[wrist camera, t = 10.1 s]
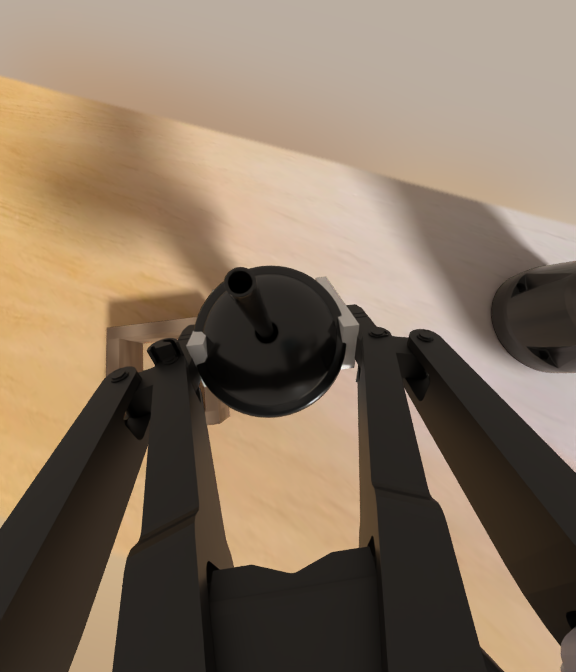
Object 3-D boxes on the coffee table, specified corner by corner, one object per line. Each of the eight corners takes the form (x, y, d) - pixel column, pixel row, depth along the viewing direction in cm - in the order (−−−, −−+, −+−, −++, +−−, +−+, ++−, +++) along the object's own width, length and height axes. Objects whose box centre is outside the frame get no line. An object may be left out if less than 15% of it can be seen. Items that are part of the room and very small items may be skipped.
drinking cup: (264, 407, 23) (127, 571, 4) (235, 343, 25) (14, 212, 5) (328, 374, 24) (503, 362, 4) (295, 313, 25) (314, 88, 6)
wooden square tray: (222, 323, 32) (212, 315, 28) (229, 416, 30) (219, 423, 25) (132, 334, 32) (106, 327, 27) (132, 429, 29) (105, 439, 25)
